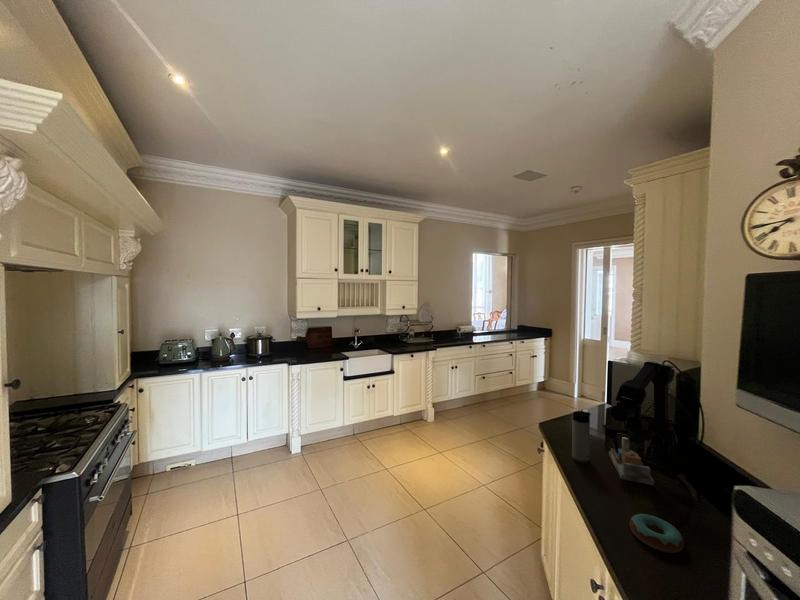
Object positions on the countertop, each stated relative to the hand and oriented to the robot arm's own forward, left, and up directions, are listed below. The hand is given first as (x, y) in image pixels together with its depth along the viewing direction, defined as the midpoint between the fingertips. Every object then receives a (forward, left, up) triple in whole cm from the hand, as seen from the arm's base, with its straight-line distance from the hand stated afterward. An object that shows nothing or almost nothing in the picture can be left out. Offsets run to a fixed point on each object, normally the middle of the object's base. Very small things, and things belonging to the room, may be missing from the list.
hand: (631, 455), depth 122 cm
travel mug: (+17, -2, -6) cm, 18 cm away
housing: (0, 0, -5) cm, 5 cm away
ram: (0, -7, -5) cm, 8 cm away
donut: (+4, +39, -7) cm, 40 cm away
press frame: (0, -2, -6) cm, 6 cm away
